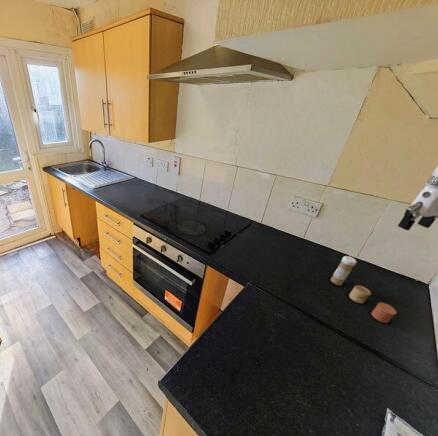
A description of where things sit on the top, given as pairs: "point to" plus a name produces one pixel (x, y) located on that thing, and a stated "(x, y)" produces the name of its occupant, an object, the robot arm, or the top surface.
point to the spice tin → (359, 294)
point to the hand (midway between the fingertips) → (413, 227)
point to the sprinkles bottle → (343, 270)
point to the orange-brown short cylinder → (383, 312)
